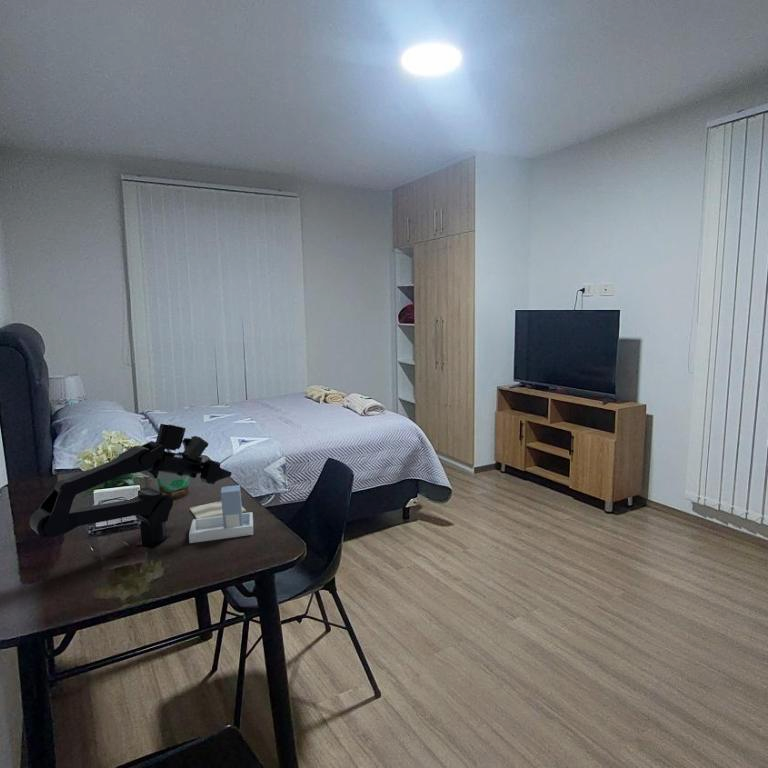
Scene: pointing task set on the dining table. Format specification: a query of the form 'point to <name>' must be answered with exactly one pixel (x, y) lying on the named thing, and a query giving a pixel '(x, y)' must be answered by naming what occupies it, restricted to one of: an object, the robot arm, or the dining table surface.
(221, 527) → the tray
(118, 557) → the dining table surface
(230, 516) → the carton
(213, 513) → the board
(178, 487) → the food container
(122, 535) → the dining table surface
